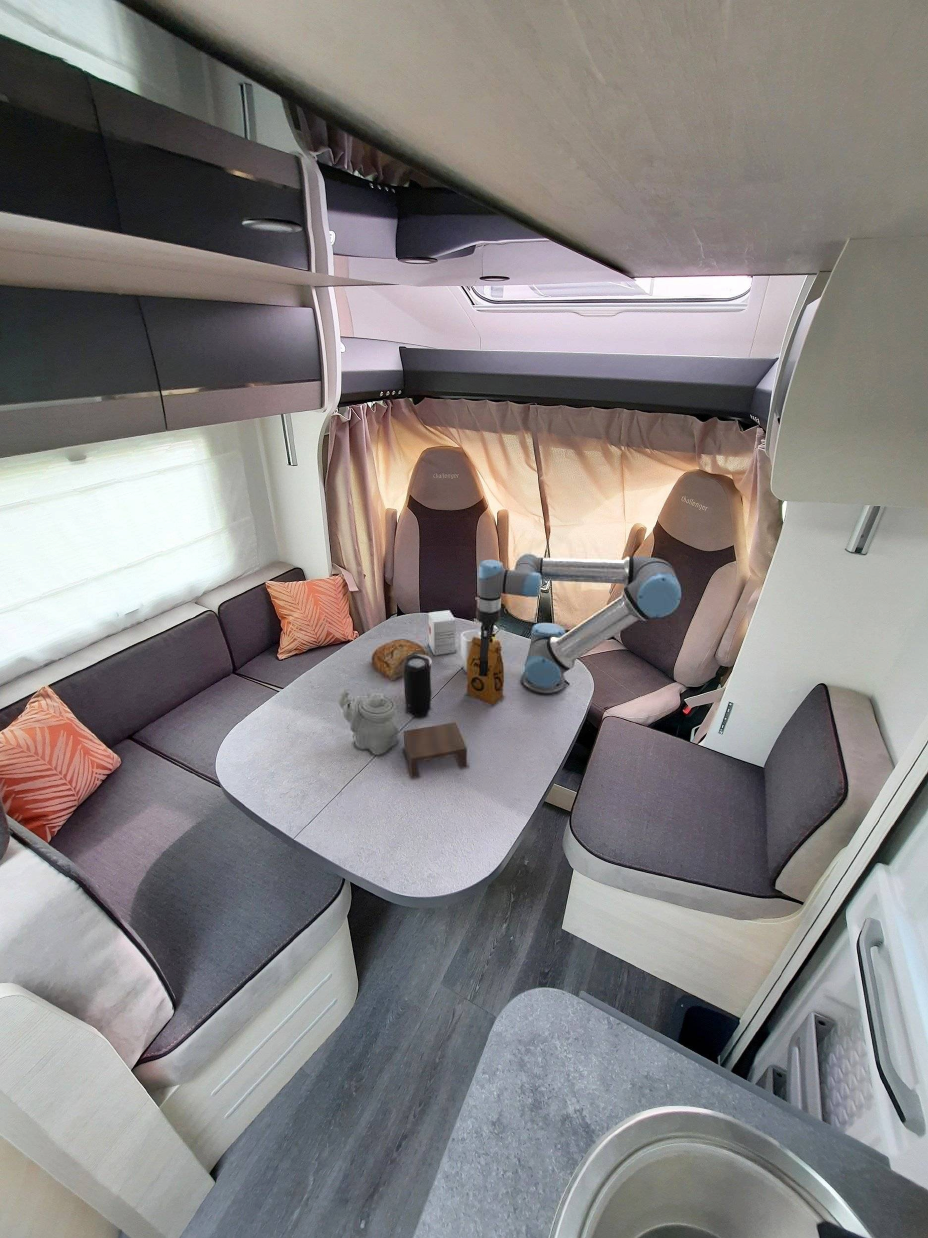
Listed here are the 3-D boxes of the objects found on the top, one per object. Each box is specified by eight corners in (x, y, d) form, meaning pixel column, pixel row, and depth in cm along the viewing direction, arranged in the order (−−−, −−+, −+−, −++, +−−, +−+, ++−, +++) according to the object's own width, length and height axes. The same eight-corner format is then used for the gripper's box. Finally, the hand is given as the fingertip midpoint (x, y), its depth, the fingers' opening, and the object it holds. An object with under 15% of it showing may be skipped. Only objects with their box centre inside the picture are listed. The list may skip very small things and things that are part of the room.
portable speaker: (412, 722, 165) (409, 671, 156) (401, 706, 172) (398, 657, 163) (436, 714, 168) (435, 664, 159) (424, 699, 176) (422, 650, 166)
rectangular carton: (428, 644, 209) (427, 612, 202) (449, 641, 211) (449, 609, 204) (433, 656, 201) (433, 622, 194) (455, 652, 203) (456, 619, 197)
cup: (484, 672, 191) (485, 638, 184) (466, 676, 189) (467, 641, 182) (476, 662, 197) (477, 629, 190) (459, 666, 195) (459, 632, 188)
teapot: (341, 731, 160) (335, 681, 152) (388, 719, 166) (385, 670, 157) (353, 765, 147) (347, 713, 138) (403, 751, 152) (401, 700, 144)
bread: (390, 684, 183) (388, 660, 179) (363, 663, 196) (361, 640, 191) (434, 664, 196) (434, 641, 191) (407, 645, 208) (406, 624, 203)
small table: (455, 740, 157) (455, 722, 154) (466, 767, 147) (466, 748, 144) (404, 749, 153) (403, 731, 150) (411, 777, 143) (411, 758, 140)
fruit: (475, 639, 202) (494, 647, 196) (486, 629, 205) (505, 637, 199) (477, 651, 206) (496, 660, 200) (488, 642, 210) (507, 650, 204)
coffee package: (489, 710, 171) (492, 654, 161) (462, 694, 178) (463, 640, 168) (507, 697, 177) (511, 642, 167) (480, 683, 185) (482, 630, 175)
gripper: (481, 591, 173) (479, 645, 183) (471, 625, 152) (469, 684, 161) (503, 593, 173) (500, 647, 182) (496, 627, 151) (492, 686, 160)
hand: (485, 664), depth 172 cm, fingers open, 13 cm apart
